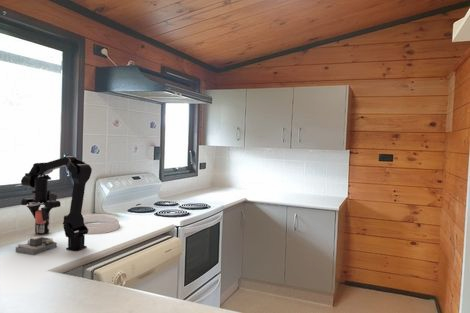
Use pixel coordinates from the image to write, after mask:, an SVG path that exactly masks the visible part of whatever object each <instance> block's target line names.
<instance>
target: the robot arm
mask: <svg viewBox="0 0 470 313" xmlns="http://www.w3.org/2000/svg"><path fill="white" fill-rule="evenodd" d="M63 167H66V169H67V170H68V171H69V173H71V174H70V176H71V180H72V182H73V187H72V192H71V201H70V207H69V208H70V209H69V212H68V214H66V215H64V216H63V222H62V225H63V227H62V228H63V230H64V234H65V237H66V238H67V241H68V242H67V247H65V249H66V250H68V251H75V252H78V251H81V250H83V249H85V248H87V245H85V236H86V235H88V234H87V233H88V229H87V227H86V226H85V224H86V223H84V218H83V216H82V215H83V214H82V210H83V203H84V196H85V190H86V184H87V182H89V180H90V178H91V175H92V171H93V170H92V169H93V168H92V167H91V166H90V164H88V163H86V162H85V161H82V160H81V159H78V158H77V157H75V156H74V155H67V156H66V155H65V156H64V157H61V158H57V159H55V160H51V161H48V162H35V163H33V165H32V166H31V168H30V169H29V170H30V171H29V172H26V173H24V175H23V177H22V179H21V182H20V183H21V185H22V187H25V188H26V187H27V188H34V189H33V190H32V191H31V192H32V194H34V197H27V198H22V199H21V202H20V203H21V204H20V205H22V206H26V207H27V209H29V211H30V212H31V215H32V216H33V218H34V219H35V211H38V210H41V212H42V217H43V221H46V219H47V217H48V214H49V215H50V211H51V210H53V209H55V208H60V207H61V201H60V200H57V198H58V194H54V193H51V190H49V189H48V188H49V181H50V180H52V177H51V176H50V175H49V174H50V173H52V172H53V171H54V170H56V169H61V168H63ZM41 205H42V206H43V207H41ZM75 231H79V232H75Z"/></svg>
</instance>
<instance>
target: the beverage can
mask: <svg viewBox="0 0 470 313" xmlns="http://www.w3.org/2000/svg"><path fill="white" fill-rule="evenodd" d="M34 224H35V225H34V228H35V229H34V233H36V234H37V235H47V234H48V233H49V232H50V213H49V214H48V217H47V219H46V223H42V224H36V223H35V222H34Z"/></svg>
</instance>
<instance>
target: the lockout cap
mask: <svg viewBox="0 0 470 313" xmlns="http://www.w3.org/2000/svg"><path fill="white" fill-rule="evenodd" d="M35 223H36V224H42V223H46V221H43V217H42V212H41V209H39V210H38V211H35V218H34V224H35Z"/></svg>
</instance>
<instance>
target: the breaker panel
mask: <svg viewBox="0 0 470 313" xmlns="http://www.w3.org/2000/svg"><path fill="white" fill-rule="evenodd" d="M40 237H41V238H42V245H39V246H36V247H35V246H30V239H28V240H27V241H26V242H27V243H26V244H23V243H18V244H17V245H18V246H16V247H15V253H21V254H27V255H32V256H33V255H37V254H40V253H43V252H46V251H48V250H52V249H53V248H57V245H58V243H57V242H55V241H54V238H51V237H44V236H43V237H42V236H40Z"/></svg>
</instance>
